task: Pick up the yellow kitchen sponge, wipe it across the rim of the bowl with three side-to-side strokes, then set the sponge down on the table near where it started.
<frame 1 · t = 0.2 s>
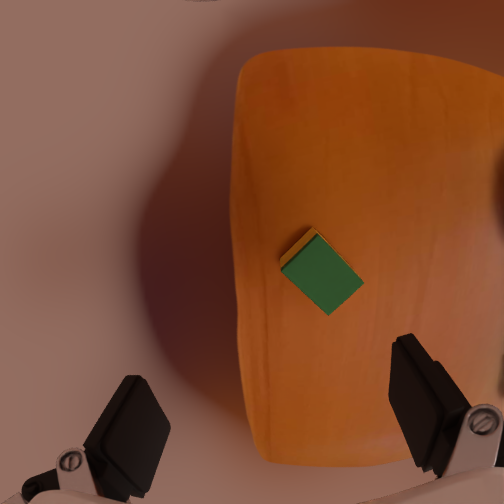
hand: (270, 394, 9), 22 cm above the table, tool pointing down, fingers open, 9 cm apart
sponge: (317, 264, 31), on the table
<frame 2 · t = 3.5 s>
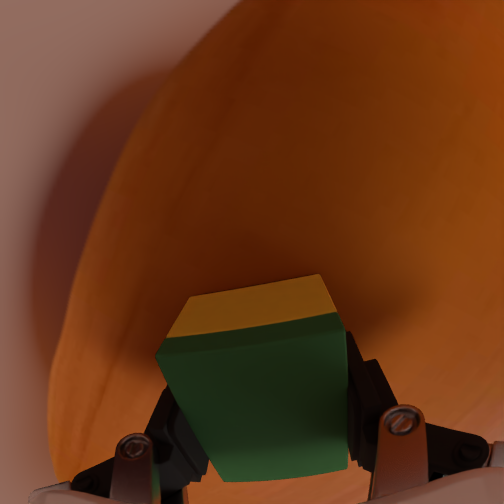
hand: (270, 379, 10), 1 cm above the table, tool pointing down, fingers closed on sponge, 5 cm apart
sponge: (270, 360, 12), on the table, touching gripper
when the fingers open (1 cm above the table, at t = 20.8 s): sponge stays where it is, on the table.
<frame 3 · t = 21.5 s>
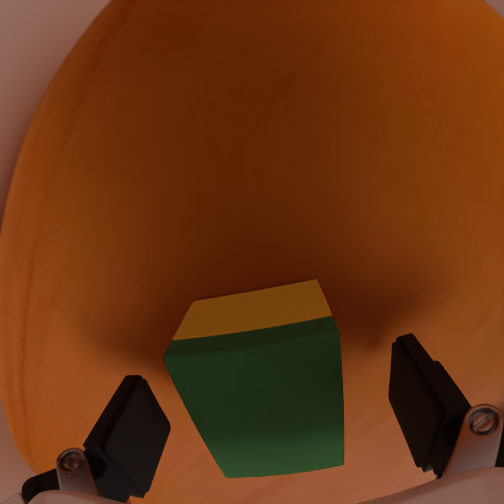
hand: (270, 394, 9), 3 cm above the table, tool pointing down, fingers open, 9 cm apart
sponge: (270, 361, 12), on the table
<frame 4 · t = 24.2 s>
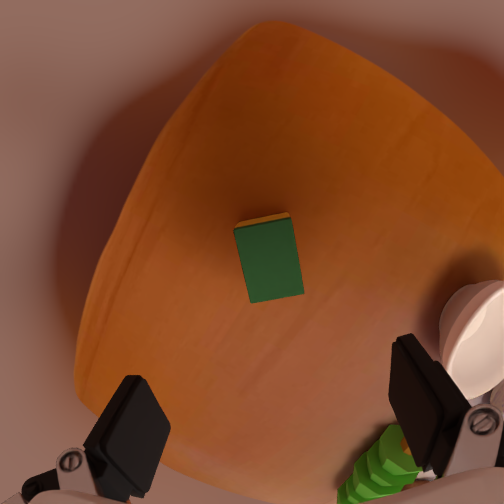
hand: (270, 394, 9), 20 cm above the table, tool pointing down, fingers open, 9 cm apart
bowl: (463, 313, 30), on the table
sponge: (270, 250, 29), on the table
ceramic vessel: (414, 490, 44), on the table
decorative tree: (371, 452, 38), on the table
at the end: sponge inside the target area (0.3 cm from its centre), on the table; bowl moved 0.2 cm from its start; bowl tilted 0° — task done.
